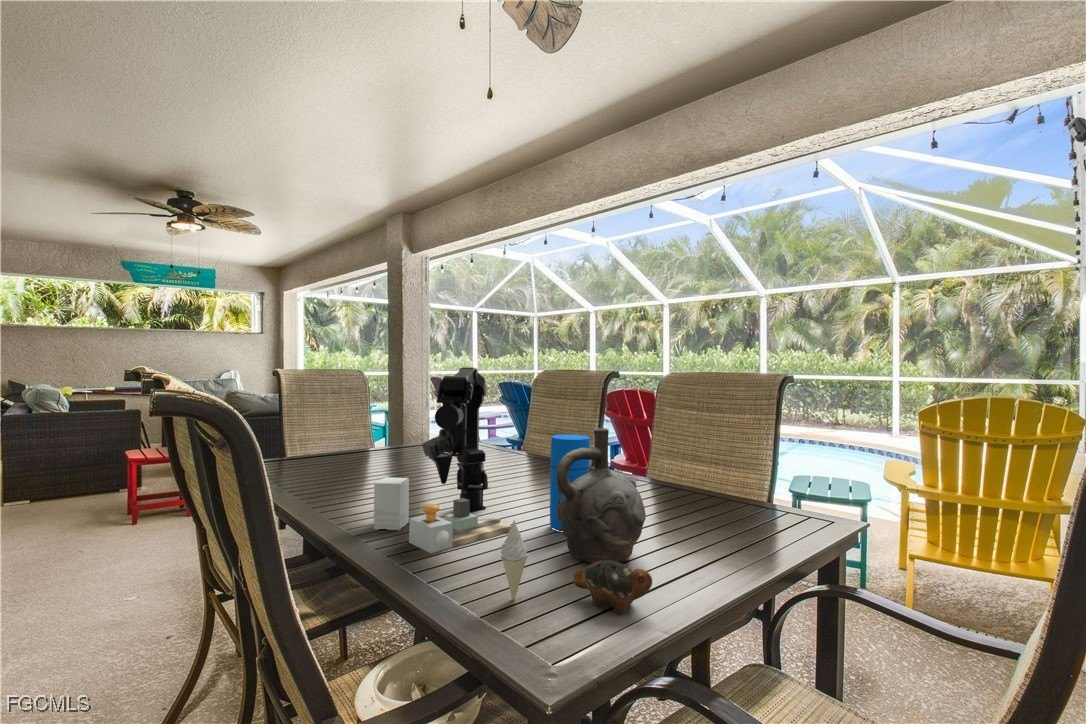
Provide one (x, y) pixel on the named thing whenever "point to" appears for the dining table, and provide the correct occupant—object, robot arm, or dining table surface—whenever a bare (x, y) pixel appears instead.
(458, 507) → the carriage
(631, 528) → the vessel
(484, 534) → the rail board
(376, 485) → the supplement box
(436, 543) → the gauge cabinet
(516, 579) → the ice cream cone
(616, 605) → the decorative turtle
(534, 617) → the dining table surface
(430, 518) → the button
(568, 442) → the thermos
